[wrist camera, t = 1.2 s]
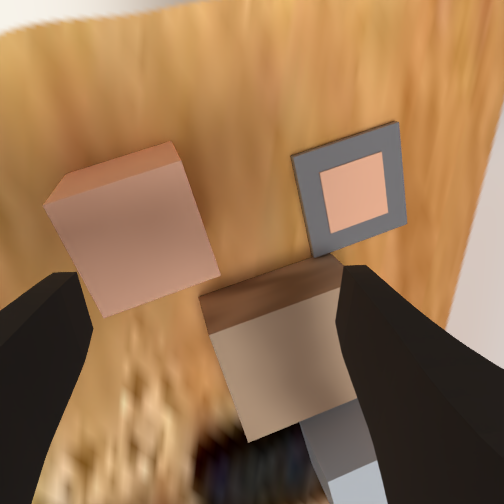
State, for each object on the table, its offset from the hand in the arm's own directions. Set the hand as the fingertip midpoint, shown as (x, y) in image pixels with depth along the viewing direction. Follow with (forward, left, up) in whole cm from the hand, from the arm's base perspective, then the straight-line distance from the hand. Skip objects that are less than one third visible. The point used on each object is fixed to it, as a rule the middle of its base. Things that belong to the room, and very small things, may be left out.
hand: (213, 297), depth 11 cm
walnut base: (+3, -10, -10) cm, 14 cm away
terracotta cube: (-2, 0, -10) cm, 10 cm away
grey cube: (+5, -21, -10) cm, 24 cm away
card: (+9, -3, -10) cm, 14 cm away
